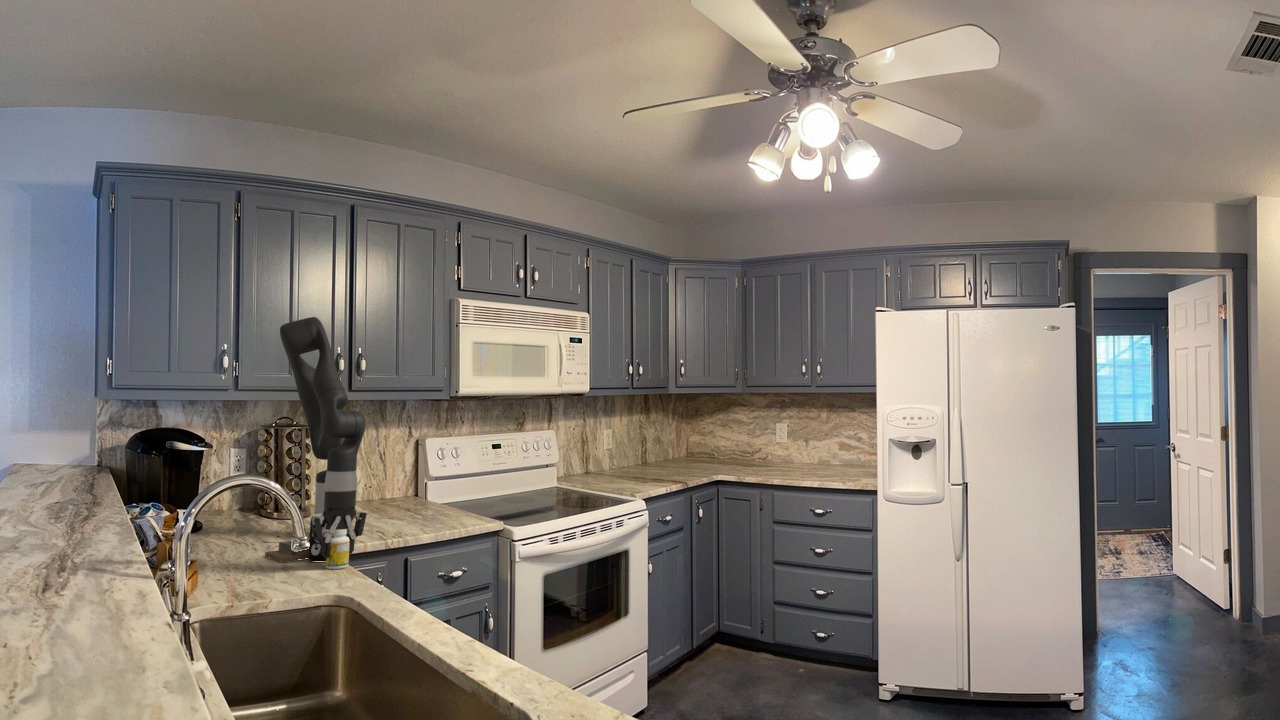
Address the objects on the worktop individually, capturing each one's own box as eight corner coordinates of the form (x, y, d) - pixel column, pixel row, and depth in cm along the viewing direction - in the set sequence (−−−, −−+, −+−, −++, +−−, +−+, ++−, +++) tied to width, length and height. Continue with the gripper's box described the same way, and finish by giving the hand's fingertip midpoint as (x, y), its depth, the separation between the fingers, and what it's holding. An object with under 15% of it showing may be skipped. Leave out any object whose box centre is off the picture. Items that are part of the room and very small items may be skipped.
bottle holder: (316, 549, 200) (317, 536, 200) (335, 555, 193) (336, 541, 193) (264, 556, 189) (265, 542, 189) (283, 562, 182) (283, 548, 182)
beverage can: (337, 561, 185) (339, 515, 186) (310, 564, 181) (312, 517, 182) (333, 557, 190) (335, 512, 191) (306, 559, 187) (309, 513, 188)
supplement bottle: (351, 567, 178) (353, 529, 179) (330, 570, 175) (332, 531, 175) (343, 564, 182) (345, 526, 183) (322, 566, 178) (324, 528, 179)
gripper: (359, 485, 188) (356, 549, 186) (305, 489, 177) (302, 557, 175) (374, 487, 183) (371, 553, 182) (320, 492, 172) (316, 562, 171)
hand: (337, 555), depth 179 cm, fingers closed on supplement bottle, 5 cm apart
